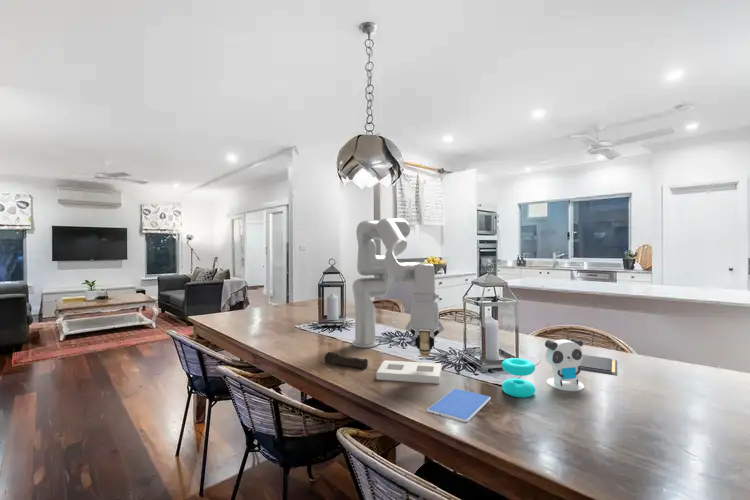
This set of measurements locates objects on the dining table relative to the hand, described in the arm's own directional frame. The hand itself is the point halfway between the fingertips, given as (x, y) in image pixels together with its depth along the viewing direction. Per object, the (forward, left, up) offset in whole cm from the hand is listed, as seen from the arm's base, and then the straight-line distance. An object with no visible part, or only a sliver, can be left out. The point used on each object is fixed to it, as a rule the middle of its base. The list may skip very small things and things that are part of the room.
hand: (424, 347), depth 138 cm
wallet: (-24, +63, -11) cm, 69 cm away
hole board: (0, -5, -10) cm, 12 cm away
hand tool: (-5, -32, -11) cm, 34 cm away
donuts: (+10, +31, -10) cm, 34 cm away
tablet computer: (+23, +12, -11) cm, 28 cm away
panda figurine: (0, +47, -10) cm, 48 cm away
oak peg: (0, 0, -3) cm, 3 cm away
